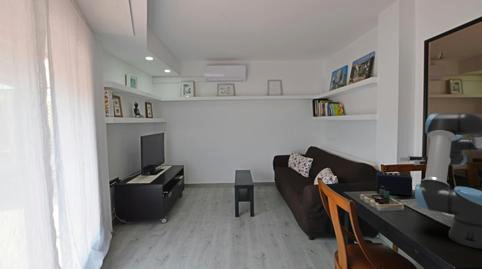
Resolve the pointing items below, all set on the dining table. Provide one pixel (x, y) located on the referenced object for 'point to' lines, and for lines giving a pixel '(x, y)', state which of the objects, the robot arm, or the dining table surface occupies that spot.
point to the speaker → (394, 182)
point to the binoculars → (382, 196)
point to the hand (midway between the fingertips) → (406, 160)
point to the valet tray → (381, 207)
